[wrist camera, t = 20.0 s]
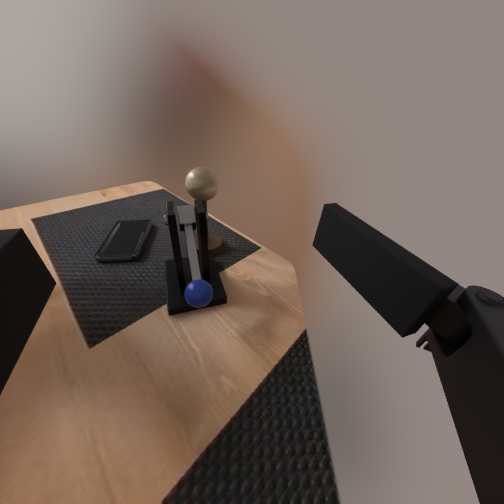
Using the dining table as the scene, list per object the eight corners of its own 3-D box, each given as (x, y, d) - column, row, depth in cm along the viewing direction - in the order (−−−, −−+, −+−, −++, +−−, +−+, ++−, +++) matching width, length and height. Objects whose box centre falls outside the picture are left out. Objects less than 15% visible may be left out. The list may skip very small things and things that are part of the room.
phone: (92, 258, 40) (118, 220, 52) (95, 262, 41) (119, 224, 53) (138, 256, 42) (152, 219, 54) (139, 260, 43) (153, 223, 54)
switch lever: (214, 305, 30) (216, 302, 26) (186, 311, 28) (186, 308, 25) (197, 215, 34) (198, 202, 31) (173, 217, 33) (171, 203, 29)
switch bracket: (226, 303, 36) (227, 223, 27) (168, 315, 33) (149, 231, 24) (212, 259, 45) (209, 189, 36) (166, 266, 42) (151, 192, 33)
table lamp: (191, 258, 45) (182, 174, 35) (188, 240, 50) (179, 162, 40) (225, 253, 47) (225, 173, 37) (218, 236, 52) (216, 162, 42)
